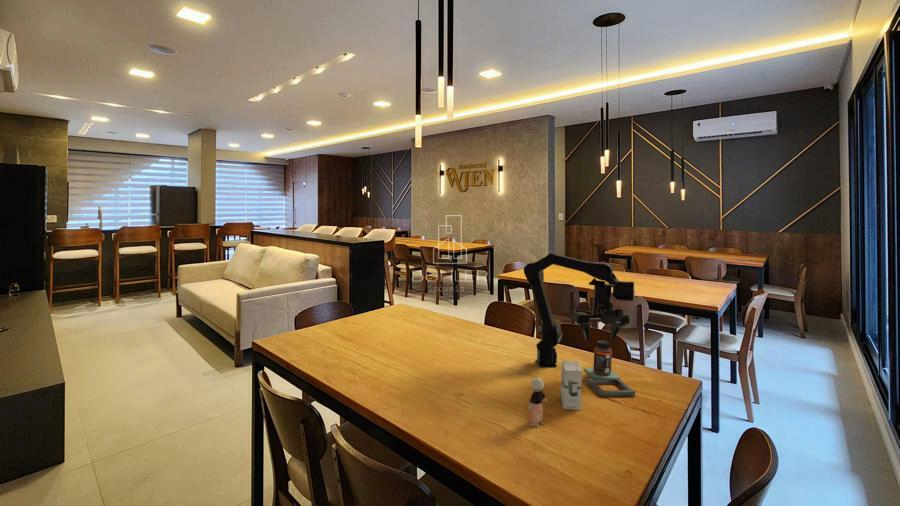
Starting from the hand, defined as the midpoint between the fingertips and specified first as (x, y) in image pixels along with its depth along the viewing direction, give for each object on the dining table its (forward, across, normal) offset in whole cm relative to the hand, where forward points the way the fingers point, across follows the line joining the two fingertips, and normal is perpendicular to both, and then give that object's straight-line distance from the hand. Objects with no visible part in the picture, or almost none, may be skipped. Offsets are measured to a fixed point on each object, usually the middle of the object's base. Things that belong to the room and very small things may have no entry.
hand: (599, 341), depth 147 cm
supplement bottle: (+11, +1, -1) cm, 12 cm away
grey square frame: (+12, -2, -14) cm, 18 cm away
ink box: (+12, -19, -23) cm, 32 cm away
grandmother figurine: (+12, -33, -35) cm, 50 cm away
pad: (+12, +1, -1) cm, 12 cm away
